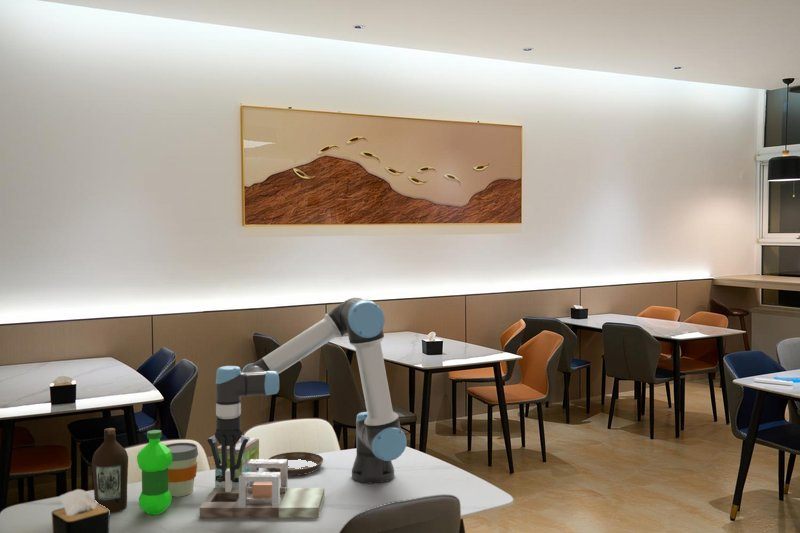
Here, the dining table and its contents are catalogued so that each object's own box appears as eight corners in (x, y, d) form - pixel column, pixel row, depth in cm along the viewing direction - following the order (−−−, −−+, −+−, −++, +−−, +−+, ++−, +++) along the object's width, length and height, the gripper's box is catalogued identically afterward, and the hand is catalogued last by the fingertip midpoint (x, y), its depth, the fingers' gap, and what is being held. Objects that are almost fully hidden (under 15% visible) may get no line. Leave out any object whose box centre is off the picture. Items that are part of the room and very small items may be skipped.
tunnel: (287, 487, 247) (287, 459, 247) (278, 507, 229) (278, 476, 229) (250, 487, 247) (250, 459, 247) (239, 507, 229) (238, 476, 229)
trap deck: (324, 497, 247) (324, 487, 247) (318, 517, 229) (318, 507, 229) (214, 497, 247) (214, 488, 247) (199, 517, 229) (199, 507, 229)
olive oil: (95, 503, 242) (94, 426, 241) (131, 500, 244) (129, 424, 243) (90, 515, 231) (88, 434, 230) (126, 512, 234) (125, 432, 233)
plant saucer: (320, 477, 268) (319, 468, 268) (261, 477, 268) (261, 468, 268) (326, 460, 289) (326, 451, 288) (272, 460, 289) (272, 451, 289)
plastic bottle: (139, 519, 228) (138, 437, 227) (137, 508, 237) (135, 429, 236) (174, 514, 232) (173, 434, 231) (170, 503, 241) (169, 426, 240)
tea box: (242, 493, 251) (242, 449, 250) (214, 491, 253) (213, 447, 252) (259, 479, 266) (259, 437, 265) (233, 477, 268) (232, 436, 267)
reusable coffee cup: (206, 488, 256) (205, 444, 255) (181, 500, 244) (180, 454, 244) (177, 483, 261) (176, 440, 260) (151, 495, 249) (150, 450, 249)
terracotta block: (275, 494, 241) (275, 478, 241) (272, 500, 235) (272, 484, 235) (256, 494, 241) (256, 478, 241) (252, 500, 235) (252, 484, 235)
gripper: (251, 413, 241) (251, 486, 242) (210, 413, 241) (211, 486, 242) (246, 419, 233) (246, 494, 234) (204, 418, 234) (204, 494, 234)
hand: (228, 490), depth 238 cm, fingers closed
